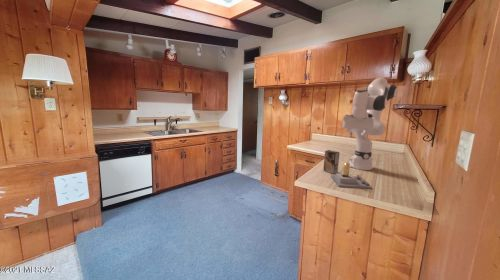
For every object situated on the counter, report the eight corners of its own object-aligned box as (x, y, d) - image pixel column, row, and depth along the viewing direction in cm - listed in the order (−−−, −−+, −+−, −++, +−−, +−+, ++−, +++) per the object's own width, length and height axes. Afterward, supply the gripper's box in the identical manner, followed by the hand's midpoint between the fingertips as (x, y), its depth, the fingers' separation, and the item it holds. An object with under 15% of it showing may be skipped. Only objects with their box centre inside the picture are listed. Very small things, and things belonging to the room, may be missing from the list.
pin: (341, 179, 141) (343, 162, 139) (345, 179, 142) (347, 162, 140) (344, 181, 138) (346, 163, 136) (348, 181, 139) (350, 163, 137)
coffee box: (338, 172, 160) (340, 152, 157) (333, 174, 156) (336, 153, 153) (327, 169, 167) (328, 149, 164) (322, 170, 163) (324, 150, 160)
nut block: (330, 176, 150) (331, 171, 149) (359, 178, 148) (360, 172, 147) (338, 186, 132) (339, 180, 131) (371, 188, 130) (372, 182, 129)
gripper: (346, 114, 135) (344, 135, 138) (376, 115, 137) (373, 136, 139) (341, 114, 142) (339, 134, 144) (370, 114, 143) (367, 134, 146)
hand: (356, 135), depth 142 cm, fingers open, 8 cm apart
